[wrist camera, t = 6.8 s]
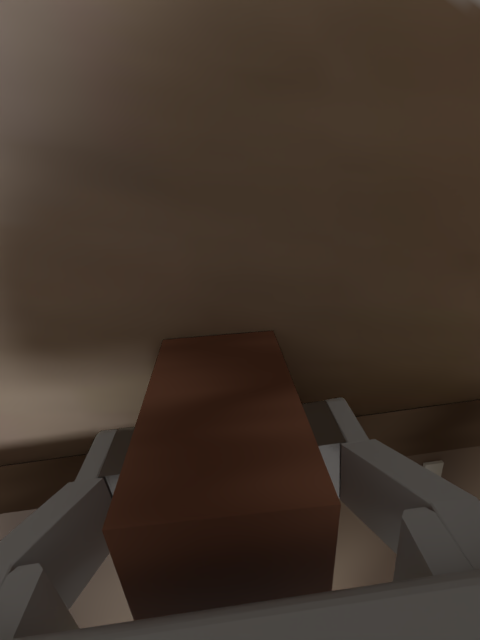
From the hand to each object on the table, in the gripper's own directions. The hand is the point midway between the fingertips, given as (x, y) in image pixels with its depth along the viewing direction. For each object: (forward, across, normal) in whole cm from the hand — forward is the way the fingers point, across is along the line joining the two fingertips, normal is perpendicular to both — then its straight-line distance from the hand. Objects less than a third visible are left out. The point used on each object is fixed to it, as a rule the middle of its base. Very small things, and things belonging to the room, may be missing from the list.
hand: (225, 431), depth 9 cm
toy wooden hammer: (+2, 0, +4) cm, 5 cm away
